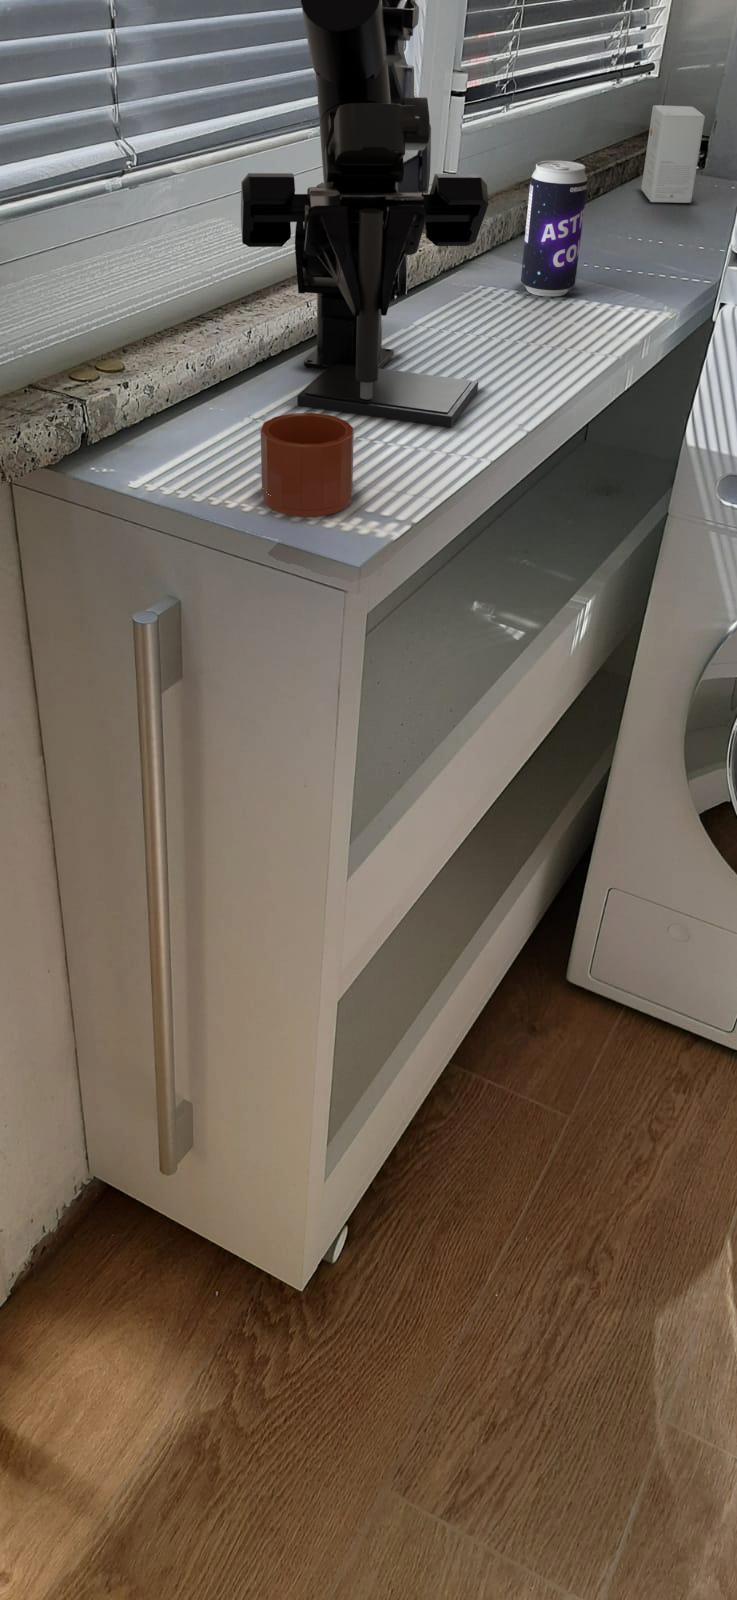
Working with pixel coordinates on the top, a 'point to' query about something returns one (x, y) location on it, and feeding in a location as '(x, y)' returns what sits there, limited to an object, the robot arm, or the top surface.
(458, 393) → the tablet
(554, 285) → the beverage can
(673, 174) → the small box
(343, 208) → the robot arm
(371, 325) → the stylus
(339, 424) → the pencil cup
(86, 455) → the top surface
